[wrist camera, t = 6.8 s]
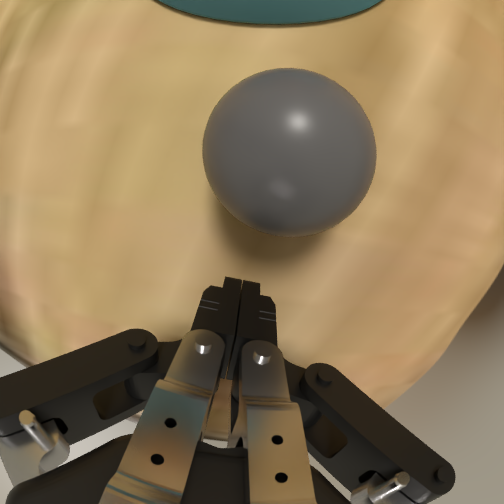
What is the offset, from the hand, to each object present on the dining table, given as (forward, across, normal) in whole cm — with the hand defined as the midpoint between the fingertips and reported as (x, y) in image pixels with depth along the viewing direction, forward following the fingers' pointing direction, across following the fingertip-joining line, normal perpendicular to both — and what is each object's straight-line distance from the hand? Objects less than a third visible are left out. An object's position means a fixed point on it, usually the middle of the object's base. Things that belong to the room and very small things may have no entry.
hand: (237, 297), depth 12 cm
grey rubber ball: (-1, -1, -6) cm, 6 cm away
